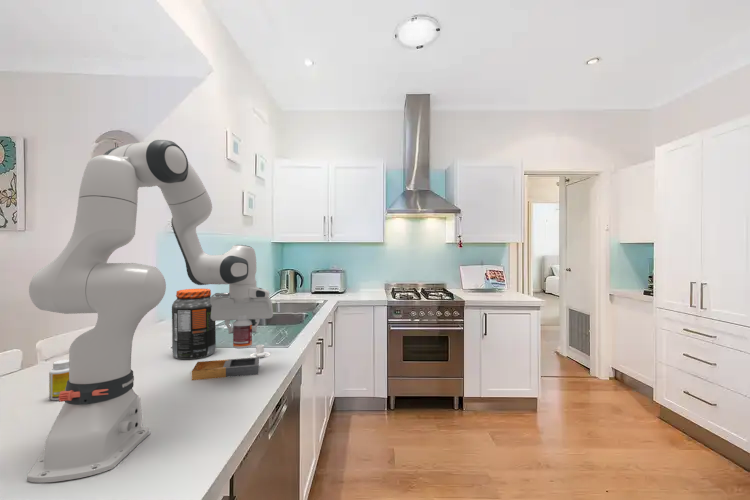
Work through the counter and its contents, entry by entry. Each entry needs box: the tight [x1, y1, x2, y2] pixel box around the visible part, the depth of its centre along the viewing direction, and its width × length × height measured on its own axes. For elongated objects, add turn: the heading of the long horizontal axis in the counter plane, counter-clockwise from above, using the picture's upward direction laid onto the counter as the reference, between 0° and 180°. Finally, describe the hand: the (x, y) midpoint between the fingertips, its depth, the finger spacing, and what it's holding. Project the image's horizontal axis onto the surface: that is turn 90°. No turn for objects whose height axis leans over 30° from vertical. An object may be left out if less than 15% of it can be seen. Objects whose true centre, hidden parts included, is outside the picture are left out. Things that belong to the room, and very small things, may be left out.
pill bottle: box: [232, 315, 253, 350], centre depth 129 cm, size 6×6×11 cm
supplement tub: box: [171, 288, 217, 360], centre depth 150 cm, size 16×16×26 cm
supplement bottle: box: [48, 359, 69, 401], centre depth 107 cm, size 6×6×10 cm
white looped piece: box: [249, 344, 272, 359], centre depth 149 cm, size 9×8×4 cm
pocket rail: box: [191, 356, 260, 381], centre depth 128 cm, size 10×20×3 cm, turn 106°
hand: (242, 332), depth 129 cm, fingers closed on pill bottle, 6 cm apart
